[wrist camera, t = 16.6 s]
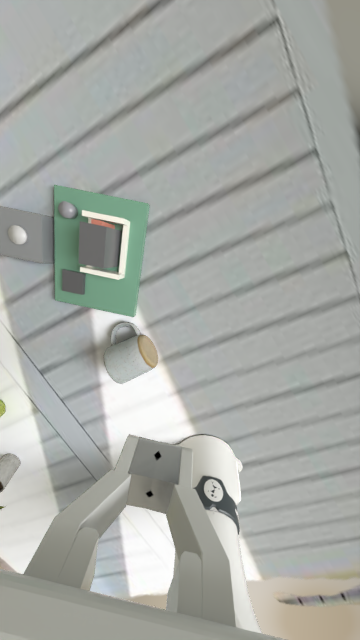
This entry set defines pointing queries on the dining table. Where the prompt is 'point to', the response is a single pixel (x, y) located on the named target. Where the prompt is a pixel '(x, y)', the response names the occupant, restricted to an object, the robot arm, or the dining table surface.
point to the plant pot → (2, 408)
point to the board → (92, 282)
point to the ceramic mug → (129, 356)
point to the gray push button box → (26, 235)
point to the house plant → (7, 469)
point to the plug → (99, 244)
